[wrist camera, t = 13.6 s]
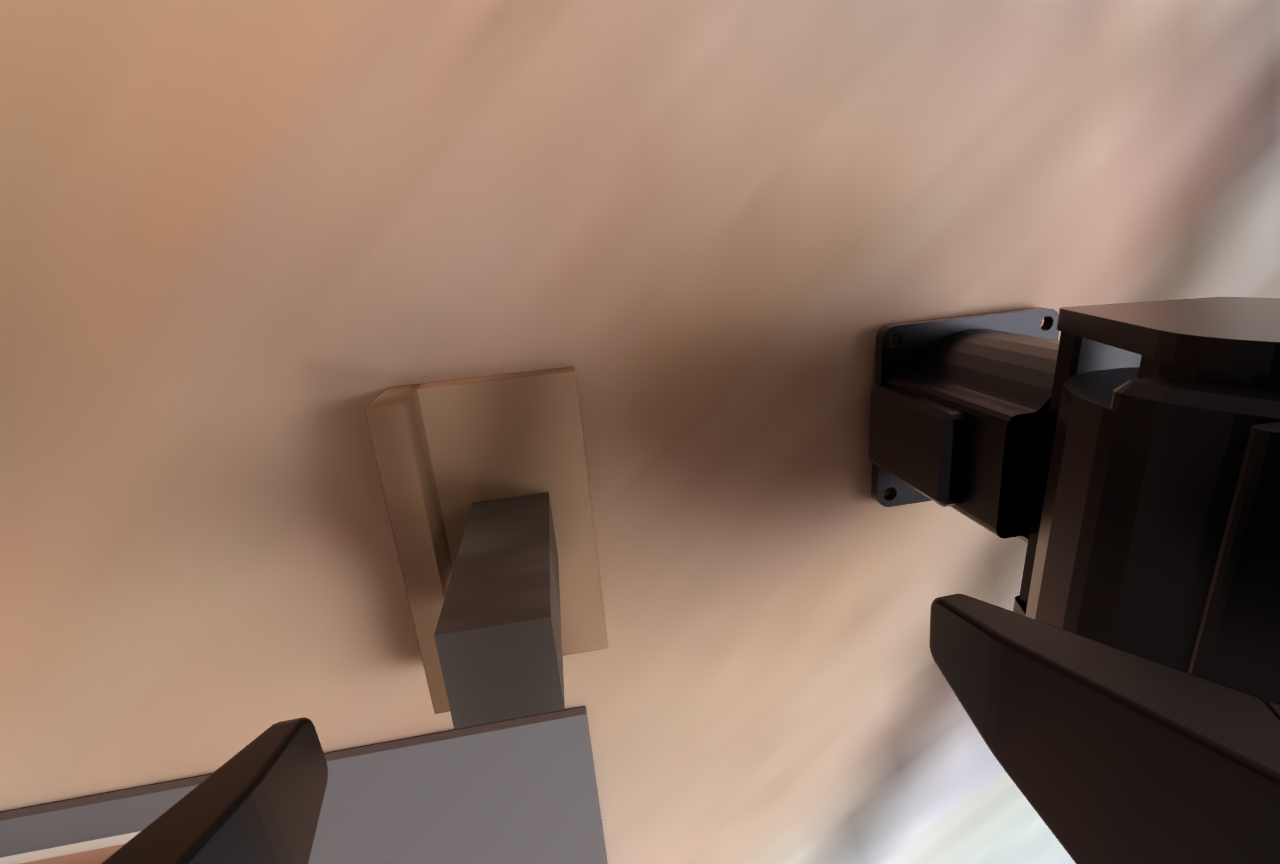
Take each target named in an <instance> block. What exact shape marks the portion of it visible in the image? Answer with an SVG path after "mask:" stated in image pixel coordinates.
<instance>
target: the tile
mask: <svg viewBox="0 0 1280 864" xmlns="http://www.w3.org/2000/svg"><path fill="white" fill-rule="evenodd" d="M123 845H125V844H121V845H115V846H110V847H105V848H99V849H94V850H89V851H84V852H78V853H73V854H68V855H63V856H57V857H52V858H47V859H41V860H36V861H31V862H26V863H20V864H101V863H102V862H104V861H105V860H106V859H107V858H109V857H110V856H111V855H112V854H113V853H115V852H116V851H117V850H118V849H120V848H121V847H122V846H123Z"/></svg>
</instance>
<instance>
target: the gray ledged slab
mask: <svg viewBox="0 0 1280 864" xmlns="http://www.w3.org/2000/svg"><path fill="white" fill-rule="evenodd" d="M324 756H325V759H326V762H327V767H328V781H327V786H326V791H325V795H324V799H323V803H322V808H321V812H320V816H319V820H318V825H317V829H316V833H315V837H314V842H313V846H312V850H311V854H310V859H309V863H308V864H608V863H607V856H606V849H605V842H604V835H603V827H602V820H601V813H600V806H599V799H598V791H597V784H596V777H595V770H594V763H593V756H592V748H591V741H590V734H589V727H588V720H587V713H586V706H585V707H579V708H574V709H568V710H563V711H557V712H552V713H546V714H541V715H535V716H530V717H524V718H519V719H513V720H508V721H502V722H497V723H491V724H485V725H480V726H474V727H469V728H463V729H458V730H452V731H447V732H441V733H436V734H430V735H425V736H419V737H414V738H408V739H403V740H397V741H392V742H386V743H381V744H375V745H369V746H364V747H358V748H353V749H347V750H342V751H336V752H331V753H325V754H324ZM210 775H211V774H209V775H204V776H198V777H193V778H187V779H182V780H176V781H171V782H165V783H160V784H154V785H149V786H143V787H138V788H132V789H126V790H121V791H115V792H110V793H104V794H99V795H93V796H88V797H82V798H77V799H71V800H66V801H60V802H55V803H49V804H44V805H38V806H33V807H27V808H22V809H16V810H10V811H5V812H0V864H20V863H26V862H31V861H36V860H41V859H47V858H52V857H57V856H63V855H68V854H73V853H78V852H84V851H89V850H94V849H99V848H105V847H110V846H115V845H121V844H126V843H127V842H128V841H130V840H131V839H132V838H133V837H135V836H136V835H137V834H138V833H139V832H141V831H142V830H143V829H144V828H146V827H147V826H148V825H149V824H151V823H152V822H153V821H154V820H156V819H157V818H158V817H159V816H161V815H162V814H163V813H164V812H165V811H167V810H168V809H169V808H170V807H172V806H173V805H174V804H175V803H177V802H178V801H179V800H180V799H182V798H183V797H184V796H185V795H187V794H188V793H189V792H190V791H192V790H193V789H194V788H195V787H196V786H198V785H199V784H200V783H201V782H203V781H204V780H205V779H206V778H208V777H209V776H210Z"/></svg>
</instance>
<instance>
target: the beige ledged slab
mask: <svg viewBox="0 0 1280 864" xmlns="http://www.w3.org/2000/svg"><path fill="white" fill-rule="evenodd" d="M365 413H366V417H367V421H368V426H369V430H370V434H371V439H372V443H373V447H374V452H375V456H376V460H377V465H378V469H379V473H380V478H381V482H382V487H383V491H384V495H385V500H386V504H387V508H388V513H389V517H390V521H391V526H392V530H393V534H394V539H395V543H396V547H397V552H398V556H399V560H400V565H401V569H402V574H403V578H404V582H405V587H406V591H407V595H408V600H409V604H410V608H411V613H412V617H413V621H414V626H415V630H416V634H417V639H418V643H419V647H420V652H421V656H422V661H423V665H424V669H425V674H426V678H427V682H428V687H429V691H430V695H431V700H432V704H433V708H434V713H435V714H438V713H443V712H449V711H451V716H452V720H453V725H454V729H459V728H465V727H470V726H476V725H482V724H487V723H493V722H498V721H504V720H509V719H515V718H520V717H526V716H531V715H537V714H543V713H548V712H554V711H559V710H565V707H564V683H563V659H562V656H564V655H570V654H576V653H582V652H588V651H594V650H600V649H606V648H608V640H607V632H606V624H605V615H604V607H603V599H602V590H601V582H600V573H599V565H598V557H597V548H596V540H595V532H594V523H593V515H592V507H591V498H590V490H589V481H588V473H587V465H586V456H585V448H584V440H583V431H582V423H581V414H580V406H579V398H578V389H577V381H576V373H575V368H574V367H565V368H556V369H547V370H538V371H529V372H520V373H512V374H503V375H494V376H485V377H476V378H467V379H458V380H449V381H440V382H431V383H422V384H414V385H405V386H396V387H389V388H388V389H387V390H386V391H384V392H383V393H382V394H381V395H380V396H378V397H377V398H376V399H375V400H374V401H373V402H371V403H370V404H369V405H368V406H367V407H365Z"/></svg>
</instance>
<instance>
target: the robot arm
mask: <svg viewBox="0 0 1280 864" xmlns="http://www.w3.org/2000/svg"><path fill="white" fill-rule="evenodd" d="M1043 318H1044V324H1043V326H1042V327H1041V328H1040V322H1041V320H1042V319H1043ZM1059 331H1061V336H1060V341H1058V333H1059ZM893 334H896V337H897V340H896V343H895V344H894V345H893V346H890V344H889V340H890V337H891V336H892V335H893ZM869 459H870V460H871V461H872V488H871V492H872V497H873V498H874V499H875V500H876V501H877V502H878V503H880V504H881V505H883V506H886V507H891V506H898V505H904V504H911V503H917V502H924V501H931V500H933V501H934V502H936V503H937V504H939V505H941V506H944V507H945V506H950V507H952V508H954V509H955V510H957V511H958V512H960V513H962V514H963V515H965V516H966V517H968V518H970V519H971V520H973V521H974V522H976V523H978V524H979V525H981V526H983V527H984V528H986V529H987V530H989V531H991V532H992V533H994V534H995V535H997V536H999V537H1000V538H1010V537H1016V536H1017V537H1019V538H1020V539H1022V540H1024V541H1025V542H1027V543H1028V546H1027V552H1026V559H1025V565H1024V571H1023V578H1022V584H1021V590H1020V595H1019V596H1016V597H1015V601H1014V608H1013V612H1012V611H1009V610H1006V609H1004V608H1001V607H998V606H995V605H992V604H989V603H986V602H984V601H981V600H978V599H975V598H972V597H969V596H966V595H963V594H954V595H949V596H944V597H939V598H936V599H935V600H934V601H933V602H932V604H931V616H930V650H931V654H932V657H933V659H934V661H935V663H936V664H937V666H938V668H939V669H940V671H941V672H942V674H943V676H944V677H945V679H946V680H947V682H948V684H949V685H950V687H951V688H952V690H953V692H954V693H955V695H956V696H957V698H958V700H959V701H960V703H961V704H962V706H963V708H964V709H965V711H966V712H967V714H968V716H969V717H970V719H971V720H972V722H973V724H974V725H975V727H976V728H977V730H978V732H979V733H980V735H981V736H982V738H983V740H984V741H985V743H986V744H987V746H988V747H989V749H990V750H991V752H992V753H993V755H994V756H995V757H996V759H997V760H998V761H999V763H1000V764H1001V766H1002V767H1003V768H1004V770H1005V771H1006V772H1007V774H1008V775H1009V776H1010V778H1011V779H1012V780H1013V781H1014V783H1015V784H1016V785H1017V787H1018V788H1019V789H1020V791H1021V792H1022V793H1023V795H1024V796H1025V797H1026V799H1027V800H1028V801H1029V802H1030V804H1031V805H1032V806H1033V808H1034V809H1035V810H1036V812H1037V813H1038V814H1039V816H1040V817H1041V818H1042V820H1043V821H1044V822H1045V823H1046V825H1047V826H1048V827H1049V829H1050V830H1051V831H1052V833H1053V834H1054V835H1055V837H1056V838H1057V839H1058V840H1059V842H1060V843H1061V844H1062V846H1063V847H1064V848H1065V850H1066V851H1067V852H1068V854H1069V855H1070V856H1071V858H1072V859H1073V860H1074V861H1075V863H1076V864H1280V299H1275V298H1244V297H1213V298H1198V299H1182V300H1167V301H1152V302H1137V303H1122V304H1107V305H1092V306H1077V307H1063V308H1060V311H1059V314H1058V312H1057V311H1055V310H1054V309H1048V308H1031V309H1022V310H1013V311H1005V312H996V313H987V314H978V315H969V316H960V317H951V318H942V319H933V320H925V321H916V322H907V323H898V324H890V325H887V326H884V327H883V328H882V329H881V330H880V331H879V333H878V334H877V337H876V351H875V385H874V388H873V390H872V391H871V394H870V430H869ZM890 487H891V490H890V493H889V494H888V495H886V496H884V491H885V490H886V489H887V488H890ZM327 781H328V767H327V762H326V759H325V756H324V753H323V750H322V747H321V744H320V741H319V739H318V736H317V733H316V730H315V727H314V725H313V723H312V722H311V720H310V719H308V718H298V719H293V720H287V721H282V722H278V723H276V724H274V725H272V726H271V727H270V728H268V729H267V730H266V731H265V732H263V733H262V734H261V735H260V736H258V737H257V738H256V739H255V740H253V741H252V742H251V743H250V744H249V745H247V746H246V747H245V748H244V749H242V750H241V751H240V752H239V753H237V754H236V755H235V756H234V757H232V758H231V759H230V760H229V761H227V762H226V763H225V764H224V765H222V766H221V767H220V768H219V769H218V770H216V771H215V772H214V773H213V774H211V775H210V776H209V777H208V778H206V779H205V780H204V781H203V782H201V783H200V784H199V785H198V786H196V787H195V788H194V789H193V790H192V791H190V792H189V793H188V794H187V795H185V796H184V797H183V798H182V799H180V800H179V801H178V802H177V803H175V804H174V805H173V806H172V807H170V808H169V809H168V810H167V811H165V812H164V813H163V814H162V815H161V816H159V817H158V818H157V819H156V820H154V821H153V822H152V823H151V824H149V825H148V826H147V827H146V828H144V829H143V830H142V831H141V832H139V833H138V834H137V835H136V836H135V837H133V838H132V839H131V840H130V841H128V842H127V843H126V844H125V845H123V846H122V847H121V848H120V849H118V850H117V851H116V852H115V853H113V854H112V855H111V856H110V857H109V858H107V859H106V860H105V861H104V862H102V863H101V864H308V863H309V859H310V854H311V850H312V846H313V842H314V837H315V833H316V829H317V825H318V820H319V816H320V812H321V808H322V803H323V799H324V795H325V791H326V786H327Z"/></svg>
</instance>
